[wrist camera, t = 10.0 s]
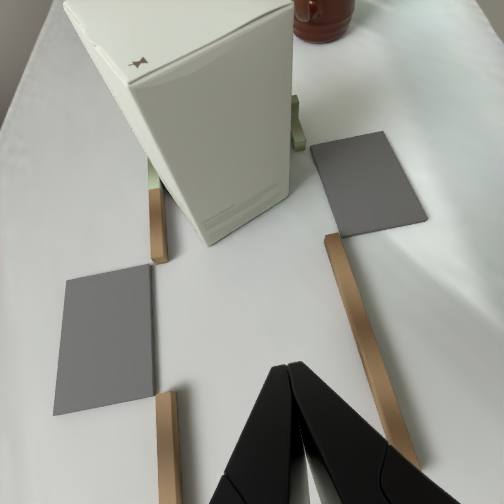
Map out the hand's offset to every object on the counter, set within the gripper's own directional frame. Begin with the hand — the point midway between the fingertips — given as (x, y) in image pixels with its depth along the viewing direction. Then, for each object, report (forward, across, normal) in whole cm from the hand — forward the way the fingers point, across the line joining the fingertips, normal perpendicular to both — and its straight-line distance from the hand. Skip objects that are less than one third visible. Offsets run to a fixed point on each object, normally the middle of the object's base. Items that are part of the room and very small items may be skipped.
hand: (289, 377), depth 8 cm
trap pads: (+17, +2, +1) cm, 17 cm away
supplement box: (+22, +2, -4) cm, 22 cm away
